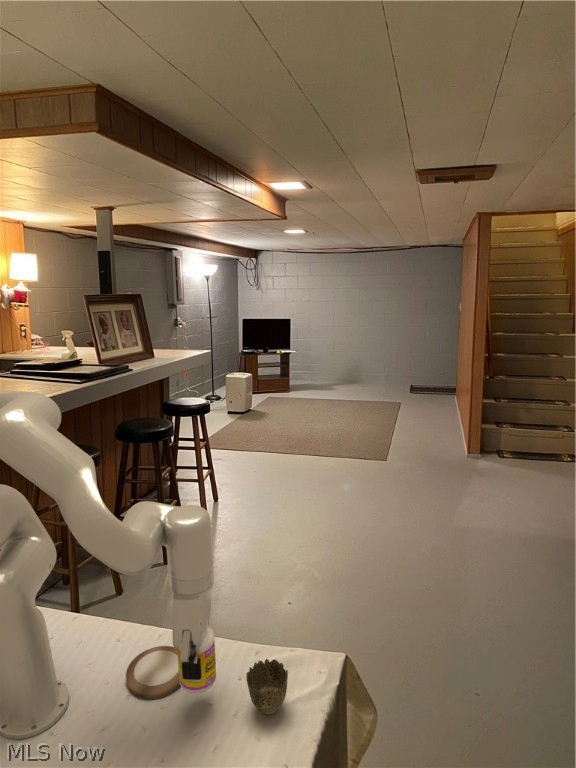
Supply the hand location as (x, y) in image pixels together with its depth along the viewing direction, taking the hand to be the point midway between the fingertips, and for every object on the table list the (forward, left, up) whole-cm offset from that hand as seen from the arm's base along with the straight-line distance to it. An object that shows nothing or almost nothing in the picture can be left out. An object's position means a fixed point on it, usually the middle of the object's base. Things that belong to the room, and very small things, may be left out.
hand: (196, 661), depth 101 cm
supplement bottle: (0, 0, -4) cm, 4 cm away
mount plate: (-10, +7, -10) cm, 16 cm away
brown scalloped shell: (+13, 0, -10) cm, 16 cm away
